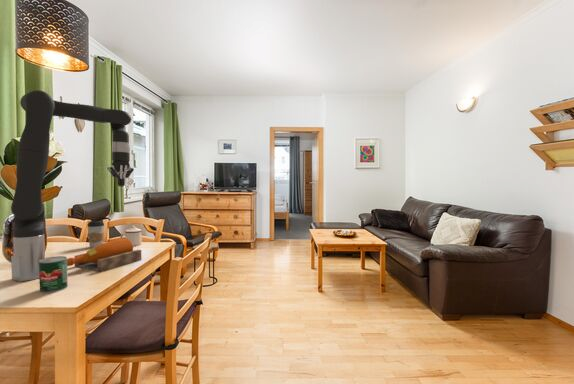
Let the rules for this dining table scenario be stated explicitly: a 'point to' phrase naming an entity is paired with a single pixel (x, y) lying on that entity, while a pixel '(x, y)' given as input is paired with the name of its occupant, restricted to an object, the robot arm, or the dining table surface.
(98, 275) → the dining table surface
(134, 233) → the teacup with lid
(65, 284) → the canned tomato
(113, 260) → the u rest
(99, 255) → the wine bottle
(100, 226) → the coffee cup
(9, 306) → the dining table surface
